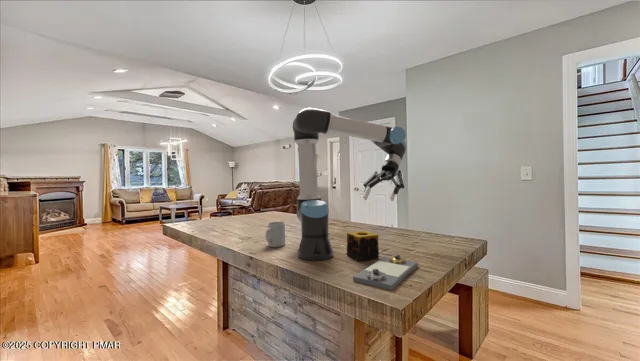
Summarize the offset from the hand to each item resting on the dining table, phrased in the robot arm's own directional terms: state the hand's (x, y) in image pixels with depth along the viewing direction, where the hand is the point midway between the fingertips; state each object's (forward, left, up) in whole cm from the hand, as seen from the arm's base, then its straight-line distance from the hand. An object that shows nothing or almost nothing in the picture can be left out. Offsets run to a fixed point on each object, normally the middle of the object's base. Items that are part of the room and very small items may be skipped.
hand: (377, 198), depth 124 cm
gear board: (+14, -24, -24) cm, 37 cm away
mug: (-47, -19, -24) cm, 56 cm away
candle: (-2, -12, -24) cm, 27 cm away
